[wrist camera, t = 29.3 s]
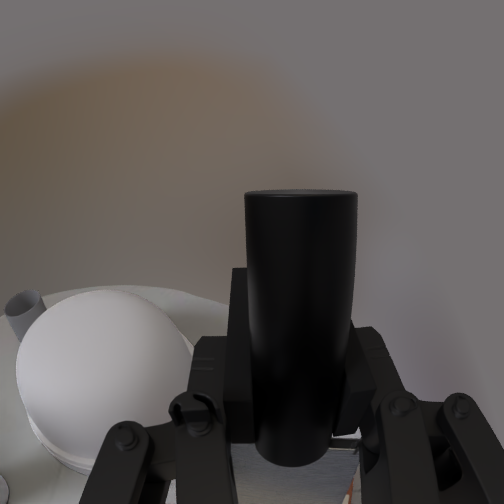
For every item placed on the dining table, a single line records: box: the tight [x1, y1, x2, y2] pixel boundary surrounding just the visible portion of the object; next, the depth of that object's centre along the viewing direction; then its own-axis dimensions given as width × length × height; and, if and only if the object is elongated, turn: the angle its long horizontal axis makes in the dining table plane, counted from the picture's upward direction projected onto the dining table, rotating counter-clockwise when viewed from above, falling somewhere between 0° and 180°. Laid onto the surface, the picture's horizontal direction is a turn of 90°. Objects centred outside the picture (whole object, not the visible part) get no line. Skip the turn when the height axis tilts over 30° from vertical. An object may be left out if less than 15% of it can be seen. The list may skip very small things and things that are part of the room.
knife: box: [231, 189, 360, 504], centre depth 9 cm, size 5×3×18 cm, turn 75°
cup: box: [4, 290, 47, 343], centre depth 43 cm, size 8×8×10 cm
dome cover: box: [16, 290, 194, 476], centre depth 35 cm, size 32×30×14 cm
